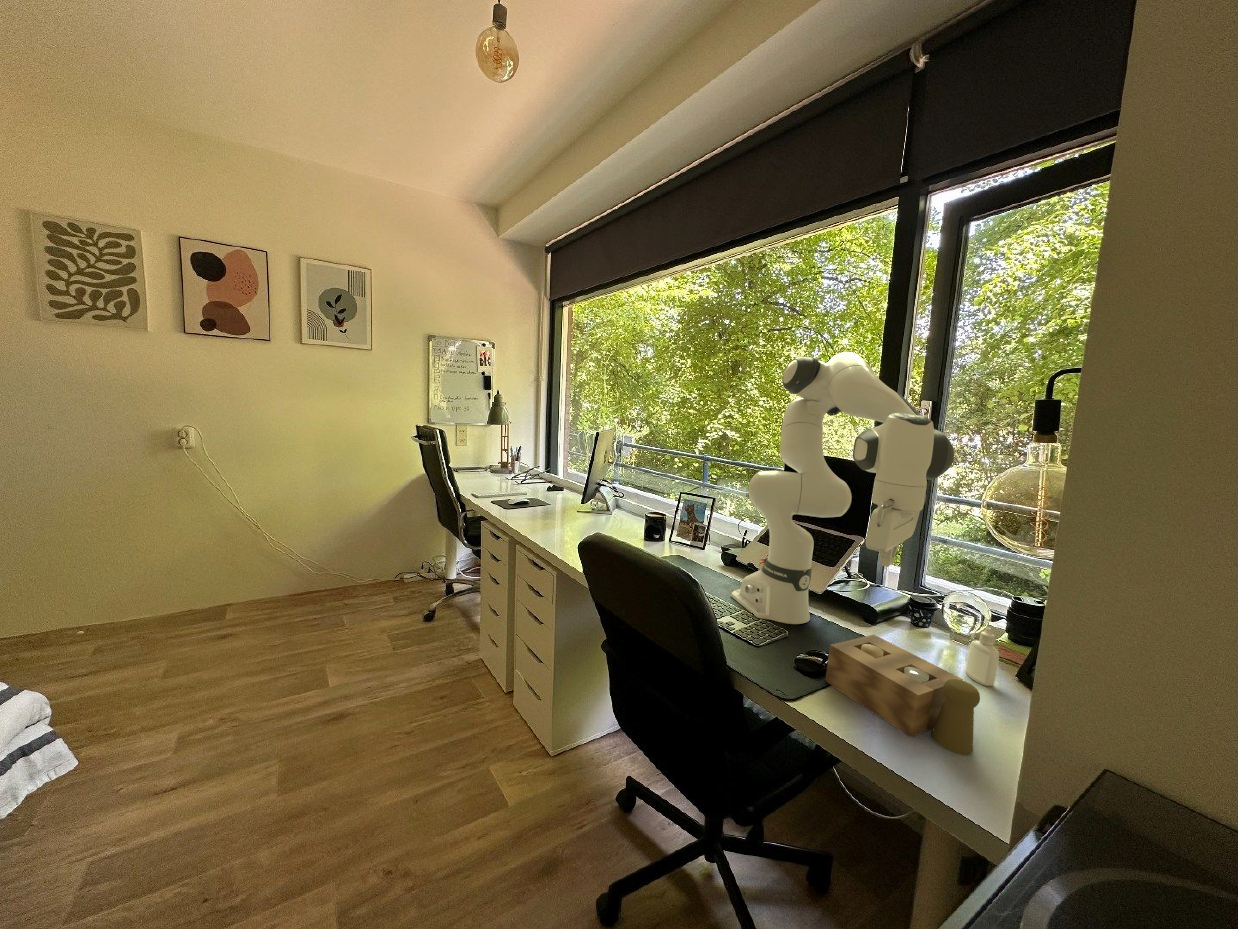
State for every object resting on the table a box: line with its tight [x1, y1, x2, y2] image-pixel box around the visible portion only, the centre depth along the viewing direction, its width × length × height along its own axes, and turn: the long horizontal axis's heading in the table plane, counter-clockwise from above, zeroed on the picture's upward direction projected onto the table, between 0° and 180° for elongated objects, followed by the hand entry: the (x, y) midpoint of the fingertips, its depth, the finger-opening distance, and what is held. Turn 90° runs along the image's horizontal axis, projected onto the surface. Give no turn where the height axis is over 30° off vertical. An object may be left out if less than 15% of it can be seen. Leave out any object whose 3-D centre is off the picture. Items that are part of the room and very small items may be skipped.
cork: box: [931, 679, 981, 756], centre depth 83 cm, size 6×6×11 cm
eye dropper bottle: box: [965, 626, 1000, 687], centre depth 105 cm, size 4×6×12 cm
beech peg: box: [861, 644, 884, 658], centre depth 99 cm, size 4×4×8 cm
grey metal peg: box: [904, 667, 929, 683], centre depth 91 cm, size 4×4×8 cm
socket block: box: [825, 634, 964, 738], centre depth 95 cm, size 18×14×8 cm
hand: (886, 564), depth 96 cm, fingers closed
